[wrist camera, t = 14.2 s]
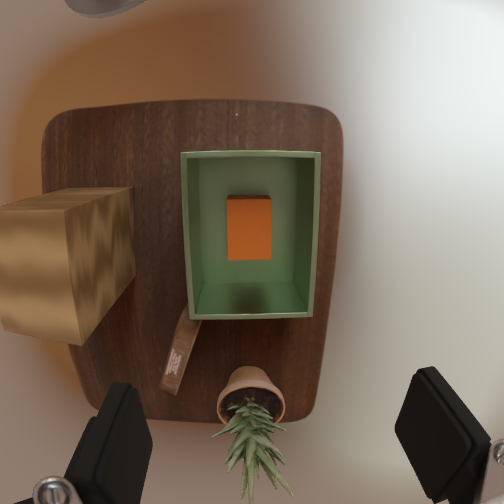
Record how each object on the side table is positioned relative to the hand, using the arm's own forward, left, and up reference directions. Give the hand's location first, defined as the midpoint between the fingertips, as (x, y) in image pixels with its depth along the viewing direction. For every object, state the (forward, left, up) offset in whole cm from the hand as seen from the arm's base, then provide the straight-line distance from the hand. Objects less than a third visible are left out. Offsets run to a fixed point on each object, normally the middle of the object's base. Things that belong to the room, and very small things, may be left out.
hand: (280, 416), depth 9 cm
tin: (+11, -15, -32) cm, 37 cm away
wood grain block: (-8, -18, -32) cm, 38 cm away
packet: (0, 0, -32) cm, 32 cm away
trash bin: (0, 0, -32) cm, 32 cm away
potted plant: (+22, -10, -32) cm, 41 cm away
